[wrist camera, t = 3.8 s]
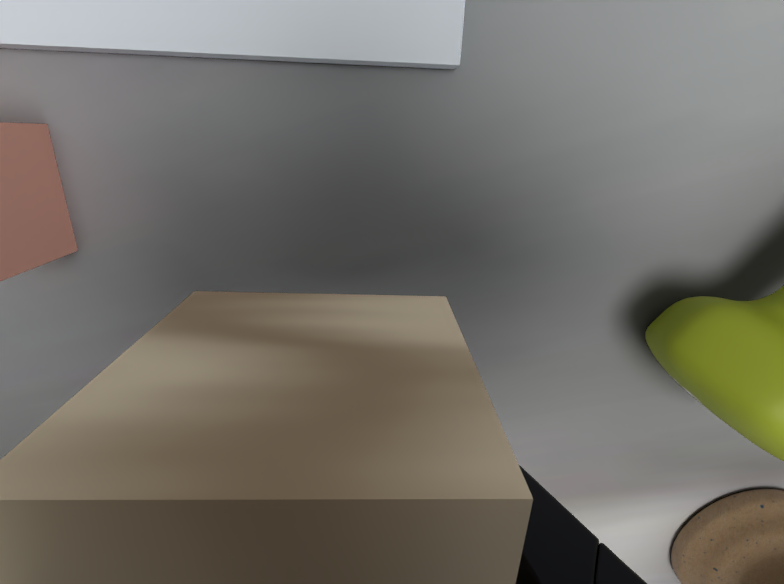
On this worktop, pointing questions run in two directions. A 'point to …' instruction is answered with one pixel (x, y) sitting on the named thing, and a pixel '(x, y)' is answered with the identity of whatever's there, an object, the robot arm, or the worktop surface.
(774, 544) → the candle holder
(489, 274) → the worktop surface
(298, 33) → the blueprint board
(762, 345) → the dumbbell
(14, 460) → the maple block
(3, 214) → the coral block
